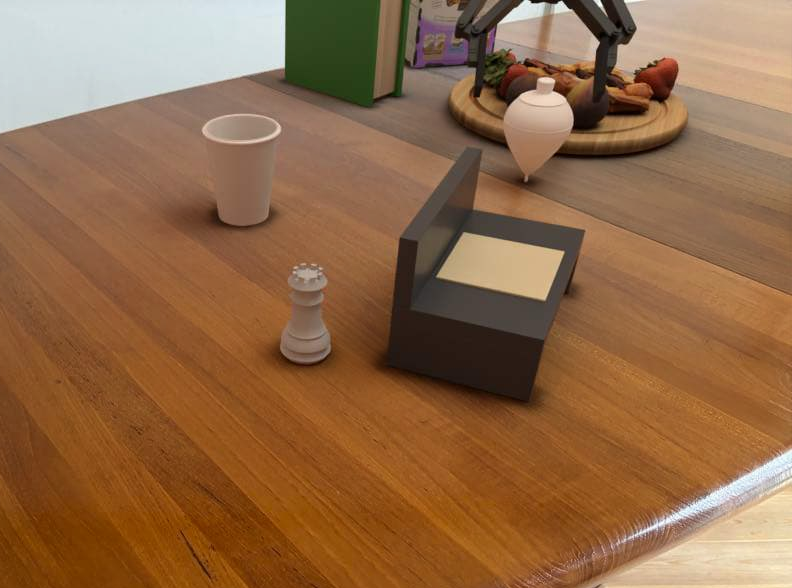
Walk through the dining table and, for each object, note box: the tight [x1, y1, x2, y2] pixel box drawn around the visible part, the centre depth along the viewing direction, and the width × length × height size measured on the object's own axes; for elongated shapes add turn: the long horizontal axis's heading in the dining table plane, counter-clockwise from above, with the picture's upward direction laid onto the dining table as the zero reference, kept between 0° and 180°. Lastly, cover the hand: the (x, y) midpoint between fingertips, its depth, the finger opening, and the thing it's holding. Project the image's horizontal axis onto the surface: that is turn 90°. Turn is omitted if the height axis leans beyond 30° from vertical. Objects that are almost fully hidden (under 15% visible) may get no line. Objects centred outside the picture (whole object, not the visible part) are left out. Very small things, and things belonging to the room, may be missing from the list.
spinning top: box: [503, 77, 573, 183], centre depth 95 cm, size 8×8×12 cm
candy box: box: [405, 0, 499, 69], centre depth 132 cm, size 14×6×16 cm, turn 100°
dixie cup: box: [201, 113, 282, 227], centre depth 90 cm, size 8×8×10 cm
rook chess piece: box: [279, 262, 332, 365], centre depth 69 cm, size 4×4×8 cm
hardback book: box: [284, 0, 410, 108], centre depth 120 cm, size 18×7×24 cm, turn 42°
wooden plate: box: [447, 48, 689, 156], centre depth 114 cm, size 32×32×8 cm
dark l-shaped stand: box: [385, 146, 586, 403], centre depth 71 cm, size 12×20×12 cm, turn 154°
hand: (537, 95), depth 96 cm, fingers open, 13 cm apart
